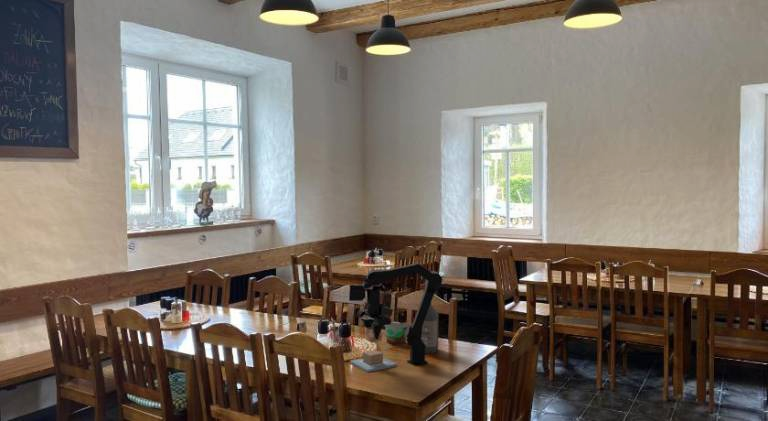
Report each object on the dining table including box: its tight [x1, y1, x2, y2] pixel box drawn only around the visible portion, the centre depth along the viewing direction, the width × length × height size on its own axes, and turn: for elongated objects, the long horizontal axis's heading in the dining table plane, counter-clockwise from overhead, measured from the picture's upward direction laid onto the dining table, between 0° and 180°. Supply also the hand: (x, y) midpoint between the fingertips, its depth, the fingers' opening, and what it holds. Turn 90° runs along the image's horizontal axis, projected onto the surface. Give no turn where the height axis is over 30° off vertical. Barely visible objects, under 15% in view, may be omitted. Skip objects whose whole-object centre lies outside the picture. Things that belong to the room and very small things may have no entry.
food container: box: [383, 321, 409, 345], centre depth 283 cm, size 12×6×10 cm, turn 62°
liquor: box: [421, 283, 439, 354], centre depth 270 cm, size 9×9×30 cm
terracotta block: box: [364, 327, 383, 343], centre depth 251 cm, size 5×5×5 cm
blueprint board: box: [349, 349, 397, 373], centre depth 251 cm, size 14×14×5 cm
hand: (373, 337), depth 251 cm, fingers closed on terracotta block, 5 cm apart
